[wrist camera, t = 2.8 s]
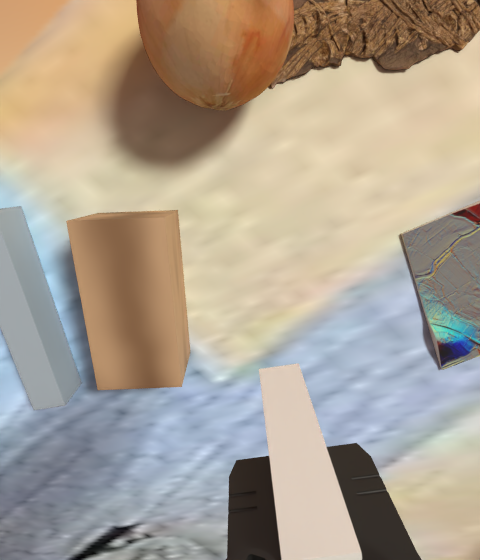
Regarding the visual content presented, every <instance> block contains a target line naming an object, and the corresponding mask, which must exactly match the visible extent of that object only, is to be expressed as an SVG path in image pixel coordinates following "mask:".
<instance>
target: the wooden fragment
mask: <svg viewBox="0 0 480 560" xmlns="http://www.w3.org/2000/svg"><path fill="white" fill-rule="evenodd" d="M293 5H294V29H293V36H292V41H291V45H290V48H289V51H288V54H287V57H286V59H285V62H284V64H283V66H282V68H281V70H280V71H279V73H278V74H277V76H276V78H275V79H274V80H273V82H272V83H271V84H270V86H271V87H272V88H274V87H275V85H276V84H277V83H281V82H285V81H286V80H287V79H290V78H291V77H293V76H300V75H303V74H305V73H306V72H308V71H309V70H310V69H311V68H313V67H319V66H322V67H326V66H330V65H332V66H341V61H342V59H343V56H344V55H347V56H355V57H359V58H370V57H372V58H373V59H374V61H376V62H377V63H378V64H379V65H381V66H382V67H383V68H384V69H390V70H399V69H409V68H410V67H411V66H412V65H413V64H415V63H416V62H418V61H421V60H424V59H425V58H426V57H428V56H430V55H433V54H434V53H436V52H437V51H443V50H446V49H449V48H453V49H454V50H457V51H460V50H462V49H463V48H464V47H465V46H466V45H467V43H468V42H470V41H471V40H472V39H473V37H474V36H475V34H476V33H477V32H478V31H479V30H480V0H293Z"/></svg>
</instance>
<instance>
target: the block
mask: <svg viewBox="0 0 480 560" xmlns="http://www.w3.org/2000/svg"><path fill="white" fill-rule="evenodd" d="M66 222H67V227H68V233H69V238H70V244H71V249H72V254H73V260H74V265H75V271H76V276H77V281H78V287H79V292H80V298H81V303H82V308H83V314H84V319H85V325H86V330H87V335H88V341H89V346H90V352H91V357H92V362H93V368H94V373H95V379H96V384H97V389H98V390H114V389H139V388H163V387H182V383H183V379H184V375H185V371H186V367H187V363H188V359H189V356H190V343H189V332H188V320H187V309H186V298H185V286H184V275H183V263H182V252H181V241H180V229H179V218H178V210H170V211H143V212H116V213H97V214H93V215H89V216H85V217H81V218H76V219H72V220H68V221H66Z"/></svg>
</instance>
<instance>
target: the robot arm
mask: <svg viewBox="0 0 480 560" xmlns="http://www.w3.org/2000/svg"><path fill="white" fill-rule="evenodd" d="M259 374H260V382H261V390H262V399H263V407H264V416H265V424H266V433H267V441H268V450H269V456H265V457H258V458H250V459H243V460H236V463H235V465H234V467H233V469H232V471H231V474H230V476H229V507H228V510H229V514H228V549H227V559H226V560H421V558H420V556H419V555H418V553H417V551H416V549H415V547H414V545H413V543H412V541H411V539H410V537H409V535H408V533H407V531H406V529H405V527H404V525H403V522H402V520H401V518H400V516H399V514H398V512H397V510H396V508H395V506H394V504H393V502H392V500H391V498H390V495H389V493H388V492H387V490H386V487H385V485H384V483H383V481H382V479H381V477H380V476H379V473H378V471H377V468H376V466H375V464H374V462H373V460H372V458H371V456H370V455H369V454H368V453H367V452H365V451H364V450H363V449H362V448H361V447H360V446H359V445H358V444H357V443H353V444H346V445H339V446H331V447H326V444H325V441H324V438H323V435H322V432H321V429H320V426H319V423H318V420H317V417H316V414H315V411H314V408H313V405H312V402H311V399H310V396H309V393H308V390H307V387H306V384H305V381H304V378H303V375H302V372H301V369H300V366H299V364H291V365H285V366H278V367H271V368H264V369H259Z"/></svg>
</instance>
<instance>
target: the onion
mask: <svg viewBox="0 0 480 560" xmlns="http://www.w3.org/2000/svg"><path fill="white" fill-rule="evenodd" d="M137 15H138V23H139V29H140V34H141V38H142V41H143V44H144V47H145V50H146V53H147V55H148V57H149V59H150V61H151V63H152V65H153V67H154V69H155V71H156V72H157V74H158V75H159V76H160V78H161V79H162V80H163V81H164V83H165V84H166V85H167V86H168V87H169V88H170V89H171V90H172V91H173V92H174V93H176V94H177V95H178V96H180V97H181V98H183V99H185V100H187V101H189V102H191V103H193V104H195V105H198V106H200V107H203V108H213V109H216V110H223V111H225V110H229V109H232V108H234V107H237V106H240V105H242V104H244V103H246V102H248V101H250V100H251V99H253V98H255V97H257V96H258V95H260V94H261V93H262V92H263V91H264V90H265V89H266V88H267V87H268V86H269V85H270V84H271V83H272V82H273V80H274V79H275V78H276V76H277V74H278V73H279V71H280V70H281V68H282V66H283V64H284V62H285V59H286V57H287V54H288V51H289V48H290V45H291V41H292V36H293V29H294V5H293V0H137Z"/></svg>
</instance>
